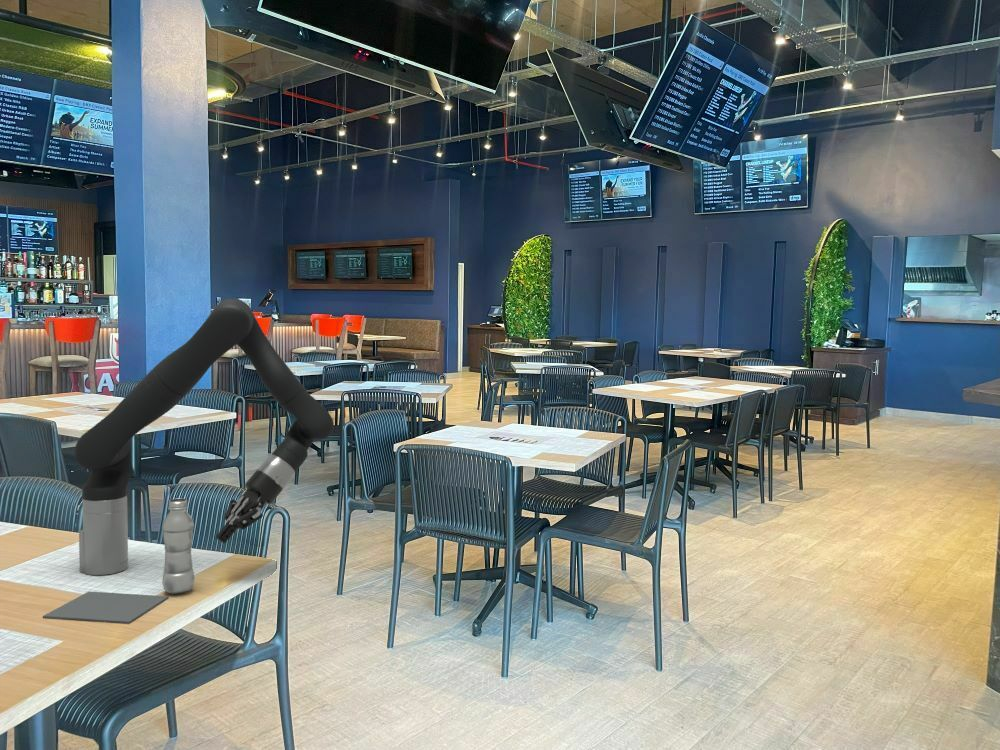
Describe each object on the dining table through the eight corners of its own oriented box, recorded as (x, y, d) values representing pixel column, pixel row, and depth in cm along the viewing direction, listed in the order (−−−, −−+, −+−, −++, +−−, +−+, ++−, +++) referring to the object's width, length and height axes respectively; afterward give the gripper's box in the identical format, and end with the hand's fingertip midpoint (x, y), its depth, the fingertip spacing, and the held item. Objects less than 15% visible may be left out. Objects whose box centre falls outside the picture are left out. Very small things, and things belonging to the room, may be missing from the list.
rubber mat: (42, 618, 151) (42, 616, 151) (88, 593, 164) (88, 591, 164) (129, 623, 149) (129, 621, 148) (168, 598, 162) (168, 596, 162)
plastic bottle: (160, 598, 162) (159, 504, 161) (164, 587, 169) (163, 497, 167) (192, 596, 164) (192, 503, 163) (196, 585, 170) (195, 496, 169)
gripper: (246, 465, 182) (195, 524, 175) (273, 473, 173) (220, 537, 165) (267, 484, 186) (218, 543, 179) (295, 493, 177) (244, 556, 169)
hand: (219, 540), depth 172 cm, fingers closed
